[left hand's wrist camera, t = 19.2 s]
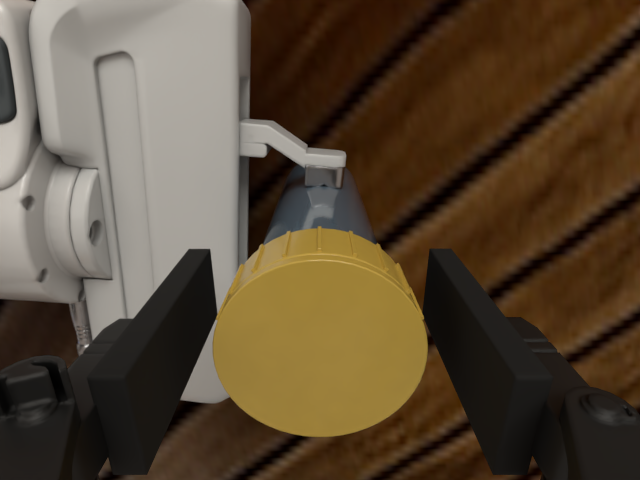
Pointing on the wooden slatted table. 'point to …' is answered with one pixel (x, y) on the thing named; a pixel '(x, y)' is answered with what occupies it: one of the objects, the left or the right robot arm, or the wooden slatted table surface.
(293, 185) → the blue-grey cylinder
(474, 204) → the wooden slatted table surface
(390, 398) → the lid
